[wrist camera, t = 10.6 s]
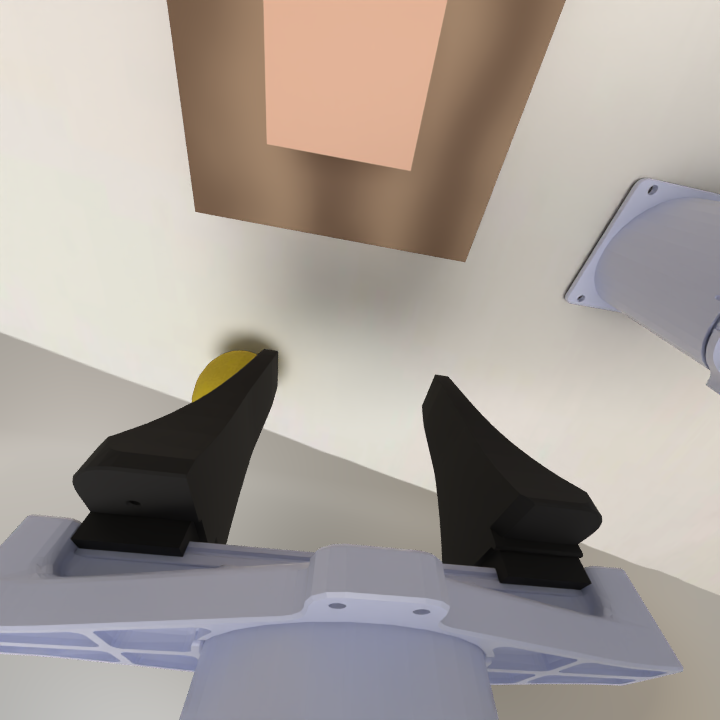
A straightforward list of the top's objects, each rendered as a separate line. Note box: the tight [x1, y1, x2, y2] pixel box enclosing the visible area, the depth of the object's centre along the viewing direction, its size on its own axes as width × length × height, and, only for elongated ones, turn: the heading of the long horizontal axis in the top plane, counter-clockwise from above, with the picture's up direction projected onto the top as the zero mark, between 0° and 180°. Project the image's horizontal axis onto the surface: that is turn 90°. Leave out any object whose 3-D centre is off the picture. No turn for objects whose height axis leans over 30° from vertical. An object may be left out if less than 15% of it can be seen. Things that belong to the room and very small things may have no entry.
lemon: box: [192, 350, 257, 402], centre depth 23 cm, size 6×6×8 cm
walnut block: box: [167, 0, 566, 262], centre depth 14 cm, size 16×16×2 cm
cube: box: [263, 0, 447, 171], centre depth 11 cm, size 5×5×6 cm
